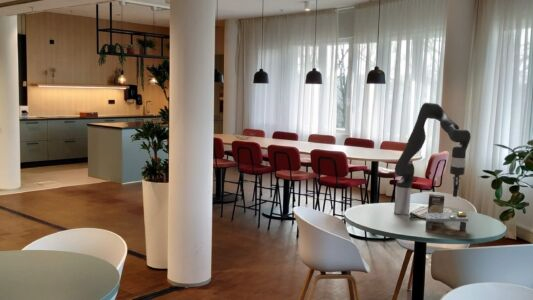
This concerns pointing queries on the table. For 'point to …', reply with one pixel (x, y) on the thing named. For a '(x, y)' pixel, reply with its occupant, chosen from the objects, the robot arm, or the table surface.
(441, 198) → the coffee box
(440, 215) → the level plate
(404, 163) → the robot arm
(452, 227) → the walnut base
